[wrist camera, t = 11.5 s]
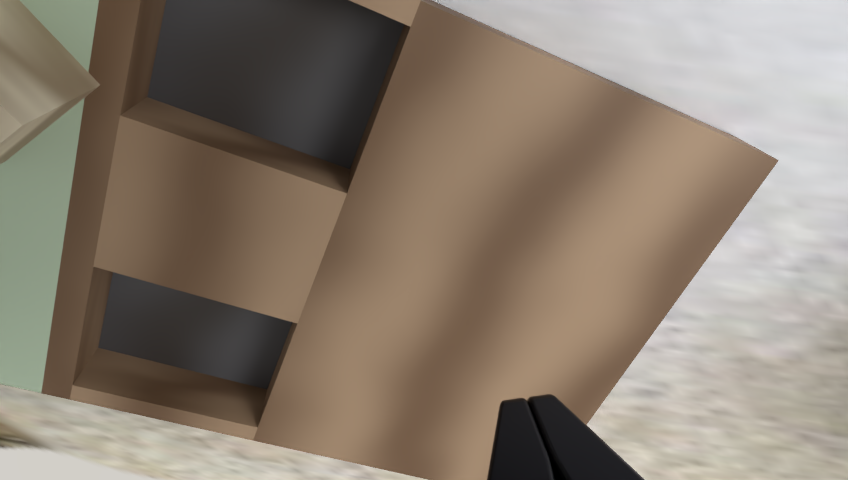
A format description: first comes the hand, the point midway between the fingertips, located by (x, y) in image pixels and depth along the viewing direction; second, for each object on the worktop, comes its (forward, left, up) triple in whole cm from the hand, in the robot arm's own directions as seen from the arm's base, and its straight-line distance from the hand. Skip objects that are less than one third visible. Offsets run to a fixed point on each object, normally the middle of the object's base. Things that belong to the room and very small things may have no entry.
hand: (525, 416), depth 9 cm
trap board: (+4, +3, -13) cm, 14 cm away
